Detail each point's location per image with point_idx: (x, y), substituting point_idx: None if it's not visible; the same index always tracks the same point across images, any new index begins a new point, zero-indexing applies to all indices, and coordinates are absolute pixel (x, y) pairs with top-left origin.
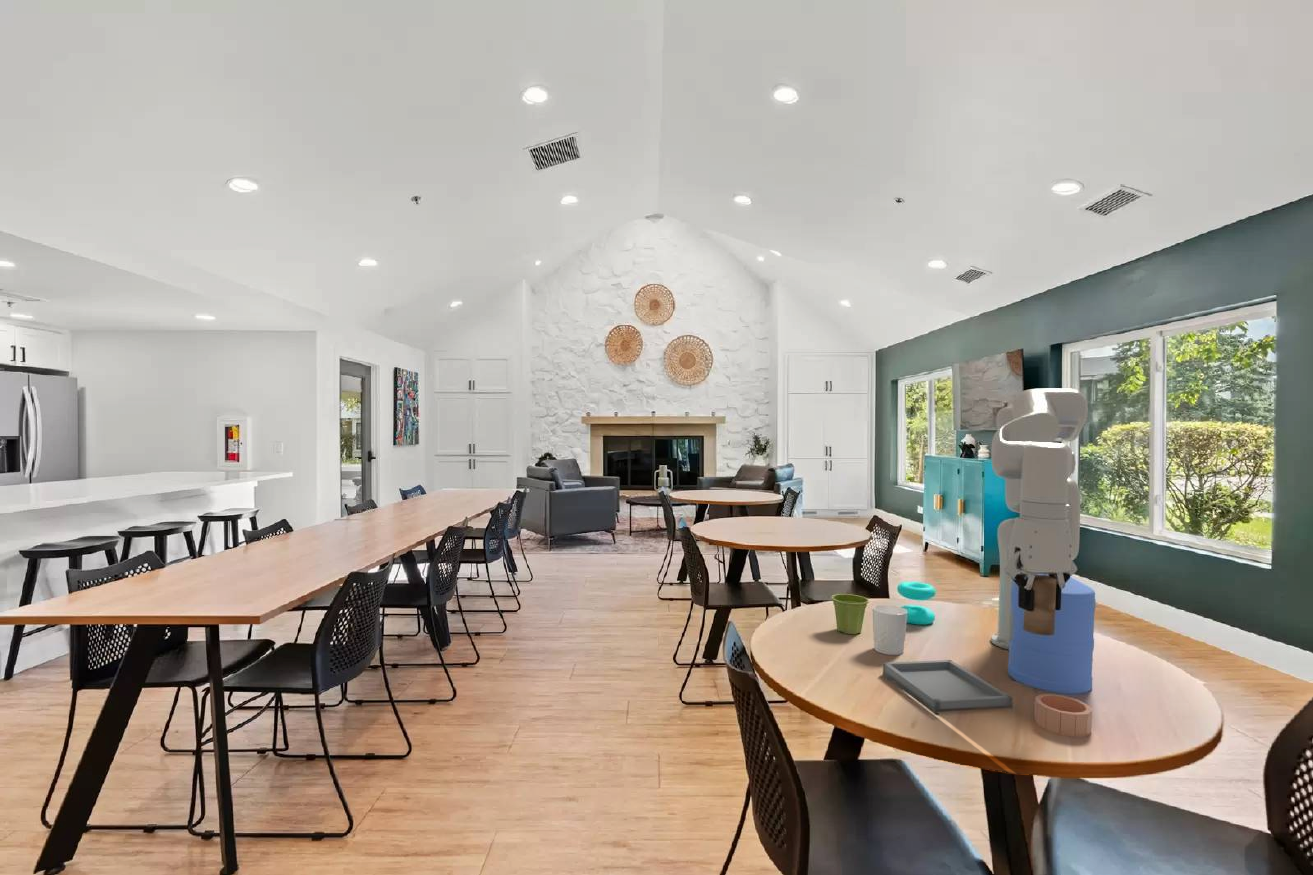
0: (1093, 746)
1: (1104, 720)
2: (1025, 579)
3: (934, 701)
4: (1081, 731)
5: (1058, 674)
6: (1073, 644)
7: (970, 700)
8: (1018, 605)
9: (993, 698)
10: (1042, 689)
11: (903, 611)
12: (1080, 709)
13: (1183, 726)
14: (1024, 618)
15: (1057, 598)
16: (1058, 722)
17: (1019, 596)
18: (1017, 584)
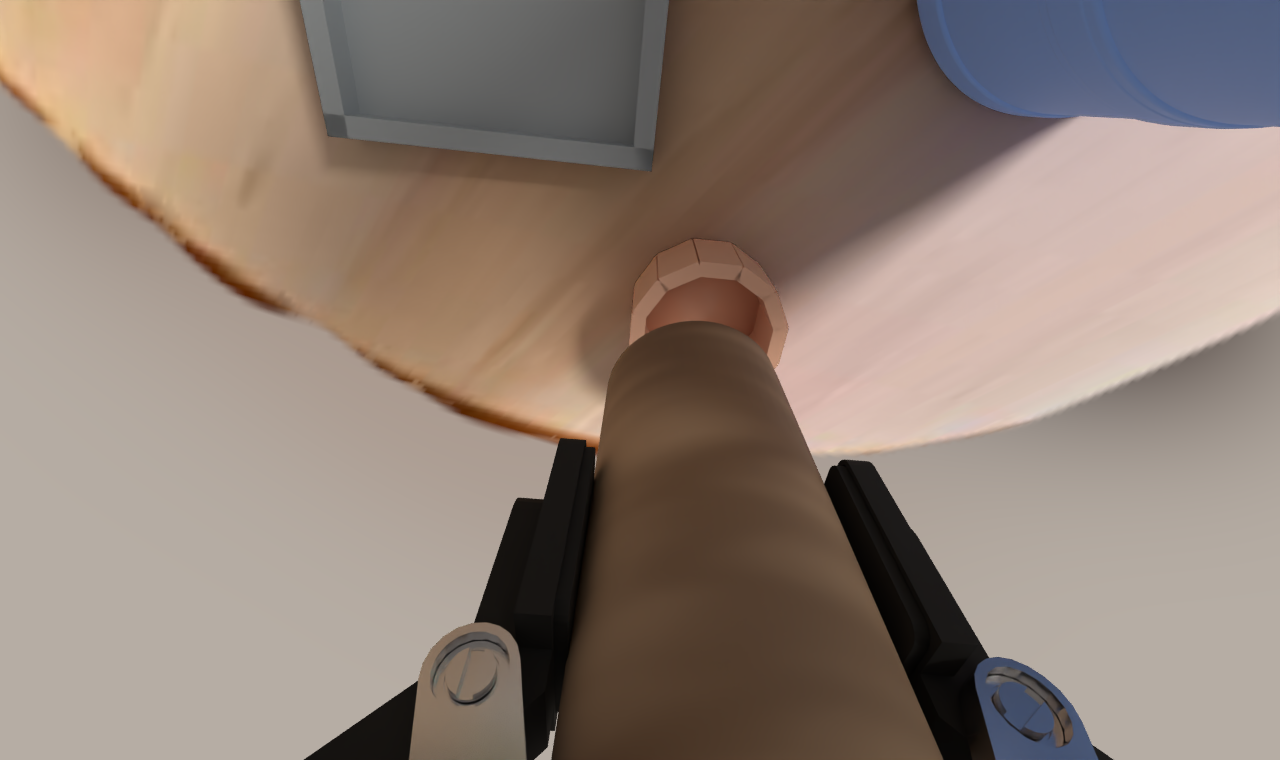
0: None
1: (875, 294)
2: (572, 744)
3: (327, 124)
4: None
5: (1000, 82)
6: (1181, 120)
7: (475, 151)
8: (560, 440)
9: (571, 162)
10: (925, 37)
11: None
12: (764, 339)
13: (1042, 369)
14: (610, 405)
15: None
16: None
17: (502, 555)
18: (416, 694)
